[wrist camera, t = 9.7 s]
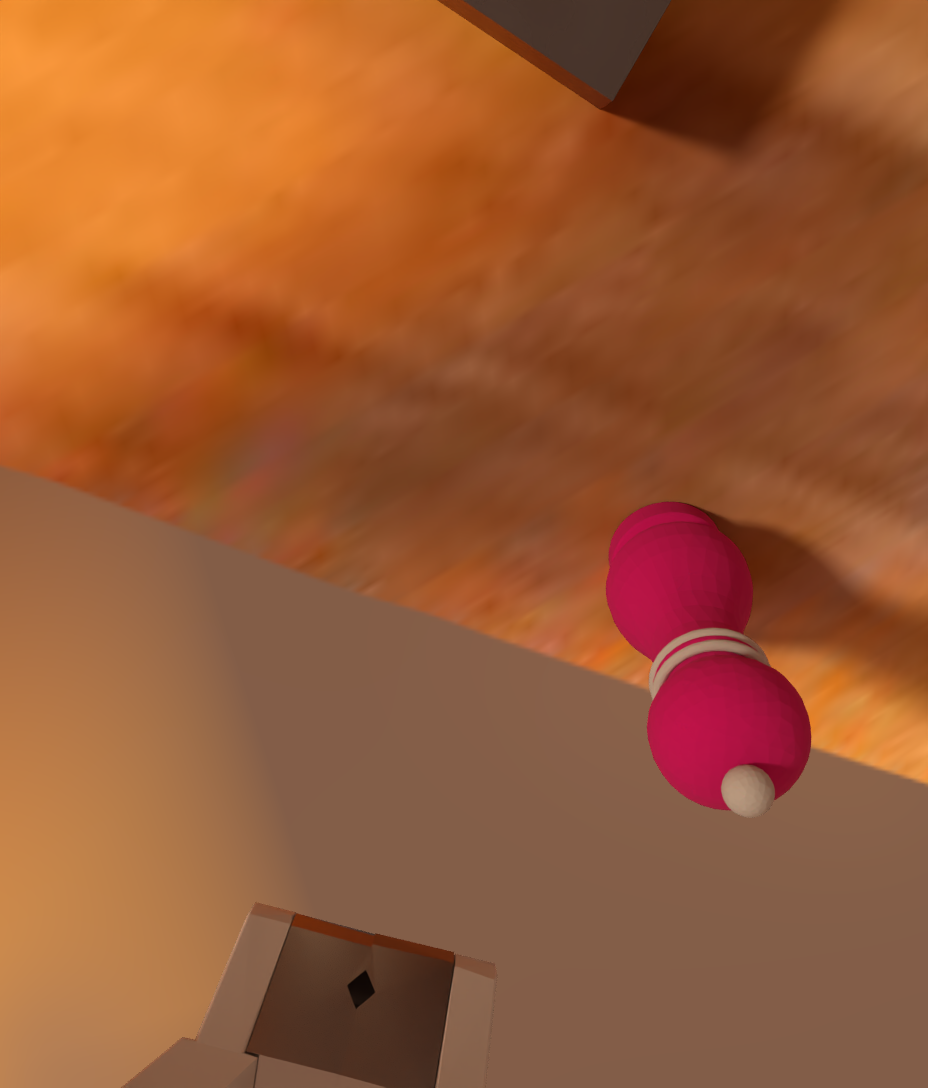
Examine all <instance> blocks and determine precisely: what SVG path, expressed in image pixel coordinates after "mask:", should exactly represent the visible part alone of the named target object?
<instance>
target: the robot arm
mask: <svg viewBox="0 0 928 1088" xmlns="http://www.w3.org/2000/svg"><path fill="white" fill-rule="evenodd" d="M496 983H497V972H496V967H495V963H491V962H487V961H483V960H479V959H475V958H471V957H467V956H462V955H458V954H455V955H454V952H451V951H447V950H443V949H438V948H434V947H430V946H426V945H422V944H417V943H413V942H409V941H405V940H401V939H397V938H393V937H388V936H384V935H380V934H373V933H369V932H365V931H362V930H358V929H354V928H350V927H346V926H343V925H338V924H335V923H331V922H327V921H324V920H320V919H316V918H312V917H309V916H305V915H301V914H297V913H296V912H293V911H289V910H285V909H280V908H277V907H273V906H269V905H265V904H261V903H257V902H256V903H255V904H254V905H253V907H252V909H251V910H250V912H249V913H248V915H247V917H246V919H245V922H244V924H243V926H242V929H241V931H240V933H239V936H238V939H237V941H236V943H235V946H234V948H233V950H232V953H231V955H230V958H229V960H228V962H227V965H226V967H225V969H224V972H223V974H222V977H221V979H220V981H219V984H218V986H217V988H216V991H215V993H214V996H213V998H212V1001H211V1003H210V1005H209V1008H208V1010H207V1013H206V1015H205V1017H204V1020H203V1022H202V1024H201V1027H200V1029H199V1032H198V1034H197V1036H196V1039H195V1040H193V1039H189V1038H184V1037H182V1038H181V1039H180V1040H178V1041H177V1042H176V1043H175V1044H173V1045H172V1046H171V1047H170V1048H169V1049H167V1050H166V1051H165V1052H164V1053H163V1054H161V1055H160V1056H159V1057H158V1058H156V1059H155V1060H154V1061H153V1062H152V1063H150V1064H149V1065H148V1066H147V1067H145V1068H144V1069H143V1070H142V1071H141V1072H139V1073H138V1074H137V1075H136V1076H135V1077H133V1078H132V1079H131V1080H130V1081H128V1083H126V1084H125V1085H124V1086H123V1087H121V1088H486V1078H487V1069H488V1059H489V1050H490V1039H491V1031H492V1021H493V1011H494V1002H495V992H496Z"/></svg>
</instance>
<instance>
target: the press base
mask: <svg viewBox="0 0 928 1088" xmlns="http://www.w3.org/2000/svg"><path fill="white" fill-rule="evenodd" d="M438 1H439V2H441V3H442V4H444V5H445V6H447V7H448V8H450V9H451V10H453V11H454V12H456V13H457V14H459V15H460V16H462V17H463V18H465V19H466V20H468V21H469V22H471V23H472V24H474V25H475V26H477V27H478V28H479V29H481V30H482V31H484V32H485V33H487V34H488V35H490V36H491V37H493V38H494V39H496V40H497V41H499V42H500V43H502V44H503V45H505V46H506V47H508V48H509V49H511V50H512V51H514V52H515V53H517V54H518V55H520V56H521V57H523V58H524V59H526V60H527V61H529V62H530V63H532V64H533V65H535V66H536V67H538V68H539V69H541V70H542V71H543V72H545V73H546V74H548V75H549V76H551V77H552V78H554V79H555V80H557V81H558V82H560V83H561V84H563V85H564V86H566V87H567V88H569V89H570V90H572V91H573V92H575V93H576V94H578V95H579V96H581V97H582V98H584V99H585V100H587V101H588V102H590V103H591V104H593V105H594V106H596V107H597V108H599V109H601V108H603V107H605V106H606V105H608V104H609V103H611V102H612V101H613V100H614V98H615V96H616V95H617V93H618V91H619V89H620V88H621V86H622V84H623V82H624V81H625V79H626V77H627V76H628V74H629V72H630V70H631V69H632V67H633V65H634V64H635V62H636V60H637V58H638V57H639V55H640V53H641V51H642V50H643V48H644V46H645V45H646V43H647V41H648V39H649V38H650V36H651V34H652V33H653V31H654V29H655V27H656V26H657V24H658V22H659V21H660V19H661V17H662V15H663V14H664V12H665V10H666V8H667V7H668V5H669V3H670V2H671V0H438Z"/></svg>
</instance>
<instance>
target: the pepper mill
mask: <svg viewBox="0 0 928 1088" xmlns="http://www.w3.org/2000/svg"><path fill="white" fill-rule="evenodd" d="M609 565H610V569H609V573H608V577H607V581H606V597H607V602H608V606H609V609H610V611H611V614H612V617H613V620H614V622H615V624H616V626H617V627H618V629H619V631H620V632H621V634H622V635H623V636H624V637H625V638H626V640H627V641H628V642H629V643H630V644H631V645H632V646H633V647H634V648H635V649H636V650H638V651H639V652H641V653H642V654H643V655H645V656H646V657H648V658H649V659H650V660H652V662H653V664H652V667H651V670H650V674H649V689H650V693H651V696H652V704H651V707H650V710H649V715H648V723H647V733H648V741H649V744H650V748H651V751H652V755H653V758H654V760H655V762H656V764H657V766H658V768H659V769H660V771H661V773H662V774H663V776H664V777H665V778H666V779H667V781H668V782H669V783H670V784H671V785H672V786H673V787H674V788H675V789H676V790H678V792H680V793H681V794H682V795H684V796H685V797H686V798H688V799H690V800H692V801H694V802H696V803H698V804H700V805H703V806H706V807H710V808H713V809H720V810H732V811H733V812H735V813H736V814H739V815H741V816H743V817H758V816H760V815H762V814H764V813H766V812H767V811H768V810H769V809H770V807H771V806H772V804H773V802H774V800H776V799H777V798H779V797H780V796H782V795H783V794H784V793H786V792H787V791H788V790H789V789H790V788H791V787H792V786H793V784H794V783H795V782H796V781H797V780H798V778H799V777H800V775H801V773H802V772H803V770H804V767H805V765H806V763H807V761H808V757H809V753H810V748H811V728H810V722H809V717H808V713H807V711H806V708H805V706H804V703H803V701H802V698H801V697H800V695H799V694H798V692H797V691H796V689H795V688H794V687H793V686H792V684H791V683H790V682H789V681H788V680H787V679H786V678H785V677H784V676H783V675H782V674H781V673H779V672H778V671H777V670H775V669H773V668H771V666H770V664H769V662H768V659H767V657H766V655H765V653H764V651H763V650H762V649H761V648H760V647H759V645H758V644H756V643H755V642H754V641H753V640H752V639H750V638H749V637H747V636H745V635H744V634H743V631H744V629H745V627H746V625H747V622H748V620H749V617H750V613H751V607H752V599H753V584H752V579H751V575H750V572H749V569H748V566H747V563H746V560H745V558H744V556H743V555H742V553H741V552H740V550H739V548H738V547H737V546H736V545H735V544H734V543H733V542H732V541H731V540H730V539H729V538H728V537H727V536H726V535H724V534H723V533H721V532H720V531H719V530H718V528H717V526H716V525H715V523H714V522H713V521H712V519H711V518H710V517H708V516H707V515H706V514H705V513H704V512H702V511H701V510H699V509H697V508H695V507H693V506H691V505H688V504H684V503H679V502H661V503H655V504H651V505H648V506H645V507H643V508H641V509H639V510H637V511H636V512H634V513H632V514H631V515H630V516H628V517H627V518H626V519H625V520H624V521H623V522H622V523H621V524H620V526H619V527H618V528H617V530H616V531H615V533H614V535H613V538H612V540H611V544H610V548H609Z"/></svg>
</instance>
